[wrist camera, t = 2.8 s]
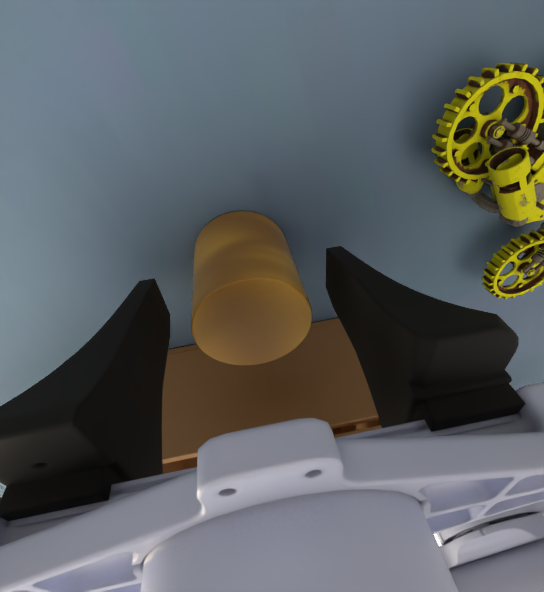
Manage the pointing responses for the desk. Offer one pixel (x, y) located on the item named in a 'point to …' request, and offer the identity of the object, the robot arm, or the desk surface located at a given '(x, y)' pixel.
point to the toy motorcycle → (501, 167)
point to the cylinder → (246, 291)
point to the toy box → (263, 393)
